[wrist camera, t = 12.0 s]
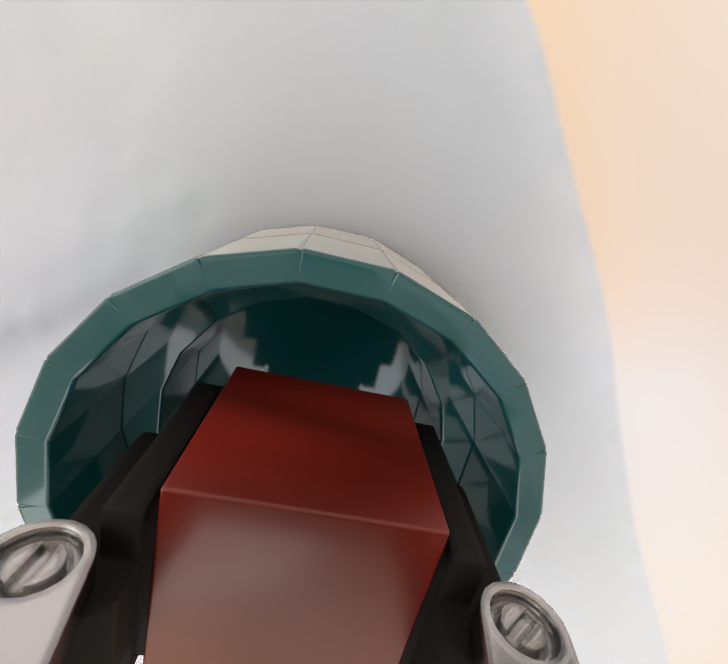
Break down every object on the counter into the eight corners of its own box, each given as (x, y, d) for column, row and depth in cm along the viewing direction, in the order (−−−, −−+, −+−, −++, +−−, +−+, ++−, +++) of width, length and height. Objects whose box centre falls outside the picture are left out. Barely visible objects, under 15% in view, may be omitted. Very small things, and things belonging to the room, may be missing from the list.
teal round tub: (143, 481, 15) (19, 661, 9) (168, 187, 12) (4, 178, 6) (415, 522, 16) (457, 702, 10) (503, 268, 13) (632, 324, 7)
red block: (214, 507, 10) (139, 691, 6) (236, 365, 9) (158, 488, 5) (368, 530, 11) (381, 714, 7) (408, 398, 9) (451, 533, 6)
